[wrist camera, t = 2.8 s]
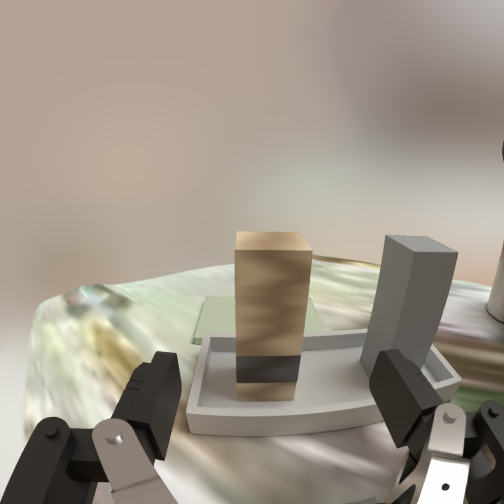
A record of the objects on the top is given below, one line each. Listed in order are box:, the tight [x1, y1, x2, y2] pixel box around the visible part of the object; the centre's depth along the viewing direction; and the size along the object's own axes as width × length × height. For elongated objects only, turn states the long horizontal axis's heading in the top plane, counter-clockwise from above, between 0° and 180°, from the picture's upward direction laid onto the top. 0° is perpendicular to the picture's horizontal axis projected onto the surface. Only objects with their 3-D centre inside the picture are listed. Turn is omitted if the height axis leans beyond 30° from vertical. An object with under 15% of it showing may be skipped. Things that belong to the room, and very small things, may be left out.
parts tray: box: [186, 329, 462, 436], centre depth 24 cm, size 26×12×3 cm, turn 91°
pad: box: [194, 296, 325, 344], centre depth 37 cm, size 16×11×1 cm
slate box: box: [359, 235, 458, 380], centre depth 22 cm, size 5×5×14 cm
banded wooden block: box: [235, 231, 312, 402], centre depth 22 cm, size 5×5×14 cm
